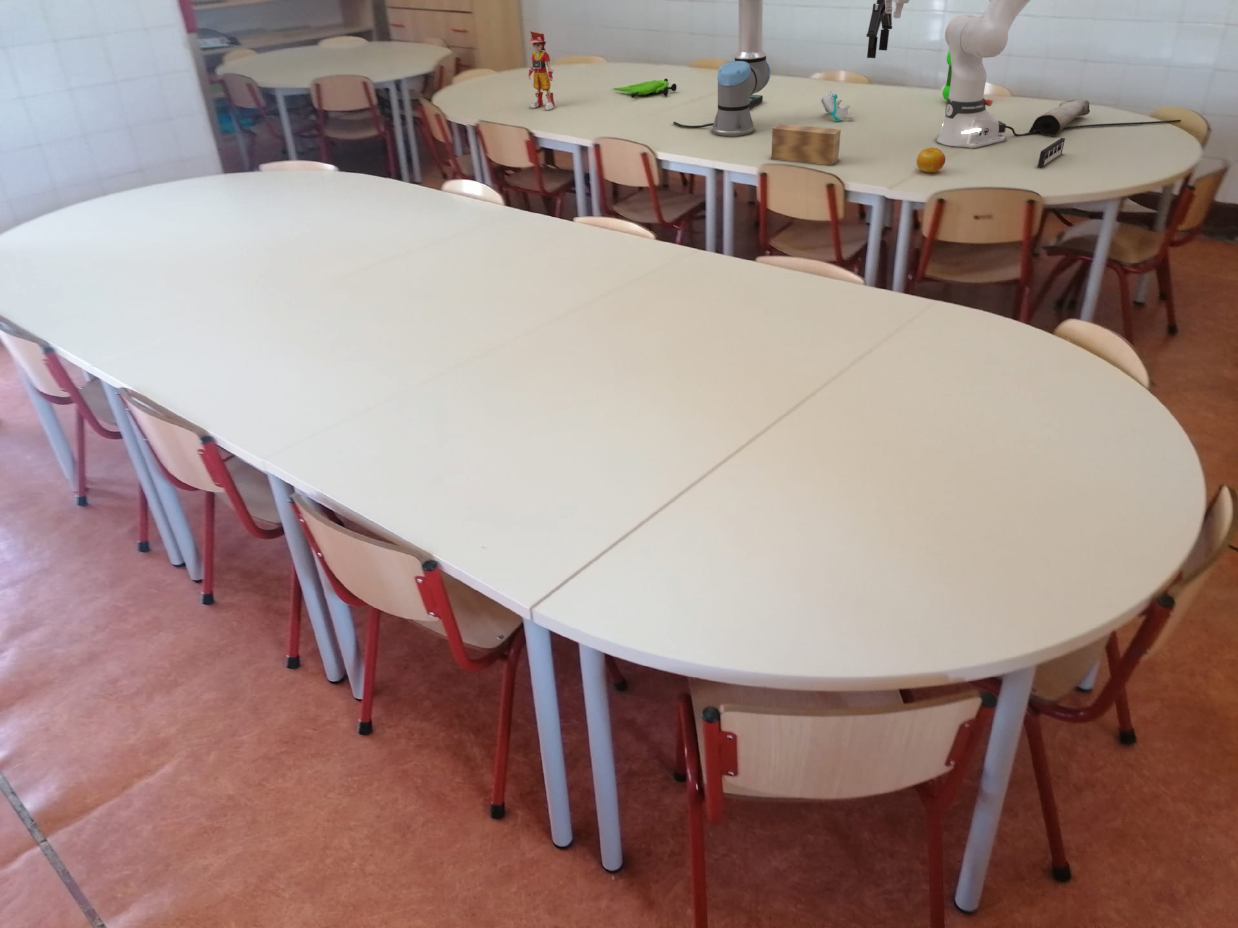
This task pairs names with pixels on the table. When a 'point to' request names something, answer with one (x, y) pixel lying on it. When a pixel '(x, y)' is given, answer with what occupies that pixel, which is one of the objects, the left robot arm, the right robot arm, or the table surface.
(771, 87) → the table surface
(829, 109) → the anatomical model
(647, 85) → the toy
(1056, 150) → the midi keyboard
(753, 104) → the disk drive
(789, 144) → the box
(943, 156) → the fruit
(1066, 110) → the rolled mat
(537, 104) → the toy
